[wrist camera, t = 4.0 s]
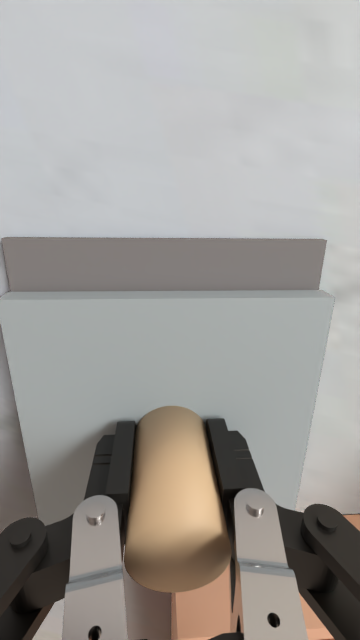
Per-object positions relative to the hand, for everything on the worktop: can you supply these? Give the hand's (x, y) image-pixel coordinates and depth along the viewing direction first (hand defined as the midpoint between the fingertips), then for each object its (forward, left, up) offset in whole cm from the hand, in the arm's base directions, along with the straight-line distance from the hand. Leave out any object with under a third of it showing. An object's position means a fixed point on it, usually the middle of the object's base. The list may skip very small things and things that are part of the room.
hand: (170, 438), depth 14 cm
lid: (0, 0, -1) cm, 1 cm away
